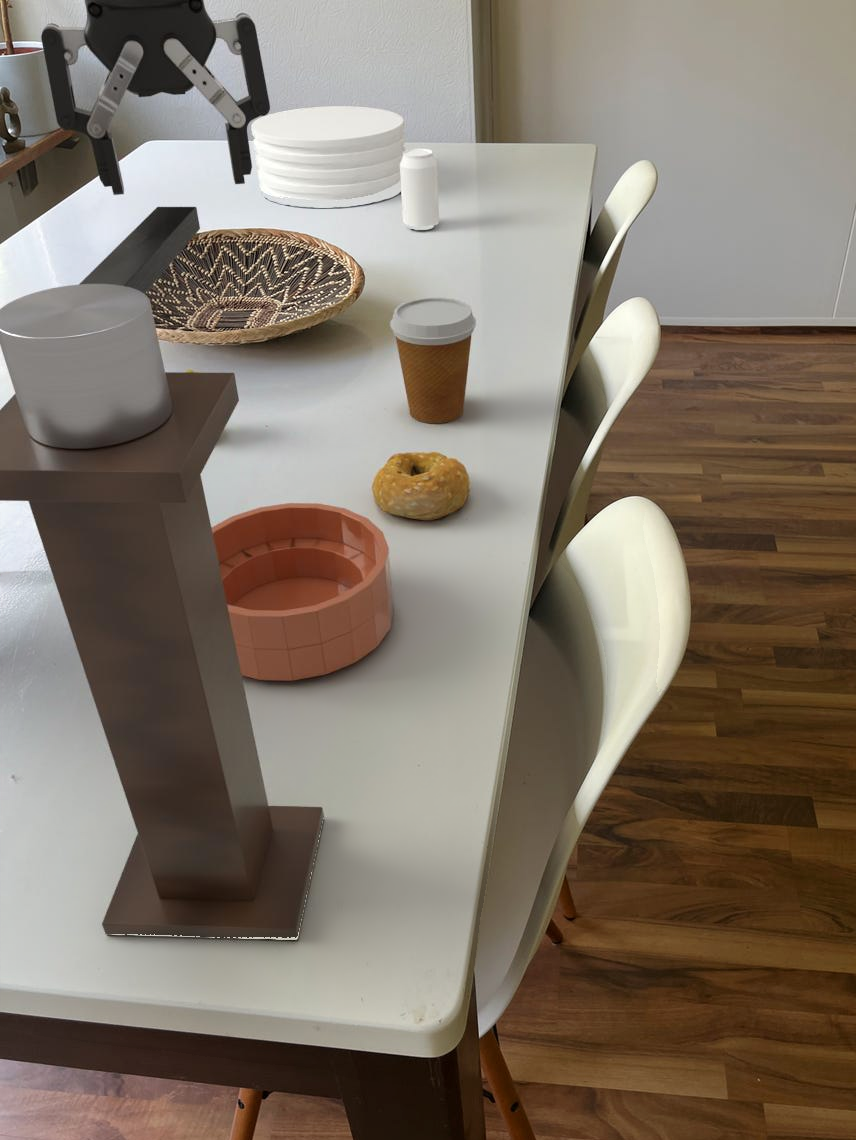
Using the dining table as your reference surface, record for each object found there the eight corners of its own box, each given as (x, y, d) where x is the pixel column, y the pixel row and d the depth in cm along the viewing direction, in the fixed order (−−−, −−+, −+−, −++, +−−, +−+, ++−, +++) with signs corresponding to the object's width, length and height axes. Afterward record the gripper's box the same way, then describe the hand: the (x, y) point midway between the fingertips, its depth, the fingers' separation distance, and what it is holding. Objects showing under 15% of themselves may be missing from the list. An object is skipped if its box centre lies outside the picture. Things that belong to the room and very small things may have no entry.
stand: (105, 936, 63) (-79, 469, 43) (153, 814, 71) (15, 370, 51) (298, 941, 63) (202, 472, 42) (324, 818, 70) (254, 372, 50)
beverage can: (438, 232, 173) (435, 156, 166) (401, 233, 173) (397, 156, 166) (440, 221, 178) (437, 147, 170) (404, 222, 178) (400, 147, 171)
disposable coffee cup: (442, 438, 114) (439, 334, 107) (379, 415, 119) (371, 314, 112) (493, 407, 120) (493, 307, 113) (431, 387, 125) (426, 289, 117)
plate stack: (355, 161, 211) (350, 99, 204) (436, 189, 194) (433, 123, 187) (234, 185, 198) (224, 120, 191) (308, 218, 180) (300, 148, 173)
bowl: (174, 684, 82) (156, 614, 77) (224, 567, 95) (211, 501, 90) (381, 688, 81) (374, 618, 77) (402, 569, 94) (397, 504, 90)
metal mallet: (3, 449, 44) (-34, 337, 41) (138, 293, 59) (118, 202, 56) (149, 450, 44) (122, 338, 41) (247, 293, 59) (233, 202, 56)
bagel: (474, 473, 108) (473, 432, 105) (466, 529, 99) (465, 486, 96) (381, 471, 109) (377, 430, 106) (365, 526, 100) (361, 484, 97)
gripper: (238, -94, 68) (272, 166, 78) (14, -87, 65) (79, 182, 75) (248, -88, 62) (283, 192, 73) (2, -80, 60) (74, 210, 70)
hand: (179, 186), depth 74 cm, fingers open, 8 cm apart
